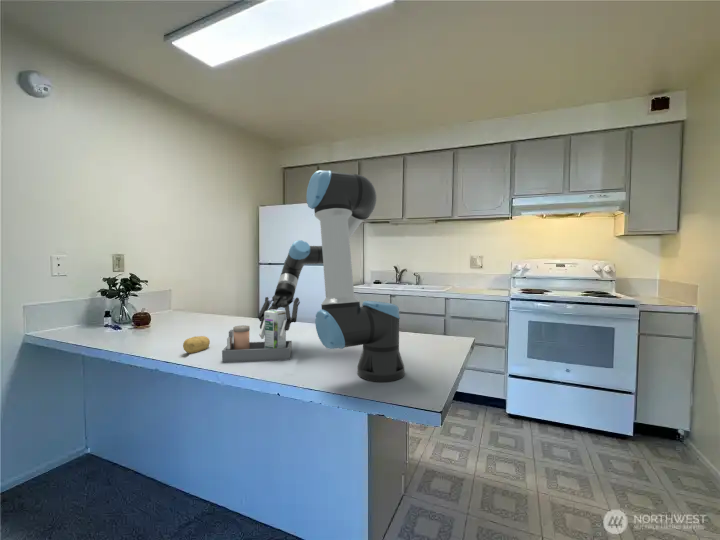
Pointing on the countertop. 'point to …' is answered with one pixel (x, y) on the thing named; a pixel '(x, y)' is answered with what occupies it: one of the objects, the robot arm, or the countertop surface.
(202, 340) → the potato
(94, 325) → the countertop surface
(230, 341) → the pusher
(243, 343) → the jar
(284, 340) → the syrup box
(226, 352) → the gray tray
